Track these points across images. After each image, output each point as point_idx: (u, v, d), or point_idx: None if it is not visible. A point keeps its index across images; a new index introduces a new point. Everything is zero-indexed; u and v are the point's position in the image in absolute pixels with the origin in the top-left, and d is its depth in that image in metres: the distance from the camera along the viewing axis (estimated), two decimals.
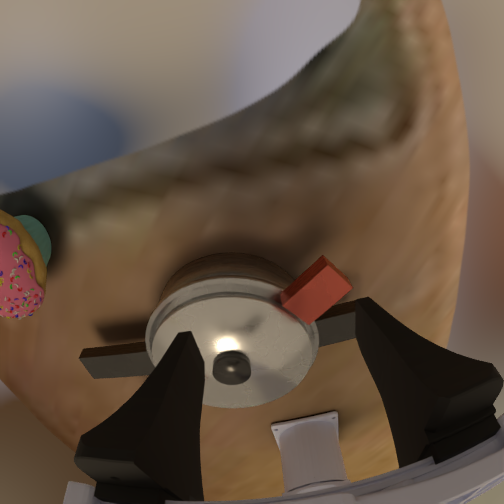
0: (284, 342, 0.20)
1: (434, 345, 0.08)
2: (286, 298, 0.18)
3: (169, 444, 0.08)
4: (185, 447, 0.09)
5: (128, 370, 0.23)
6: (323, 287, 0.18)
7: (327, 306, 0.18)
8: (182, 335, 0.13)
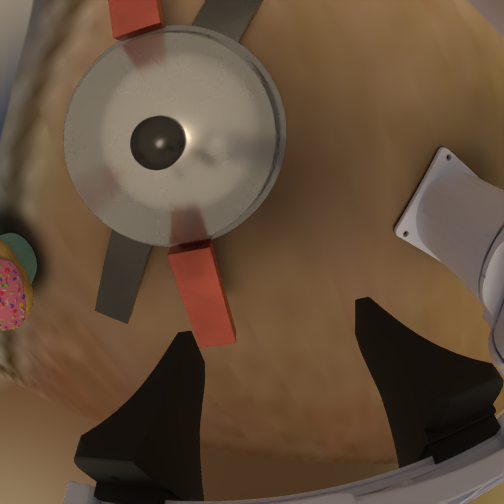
0: (170, 62, 0.12)
1: (434, 345, 0.08)
2: (114, 32, 0.11)
3: (169, 444, 0.08)
4: (185, 447, 0.09)
5: (129, 275, 0.19)
6: None
7: None
8: (182, 335, 0.13)
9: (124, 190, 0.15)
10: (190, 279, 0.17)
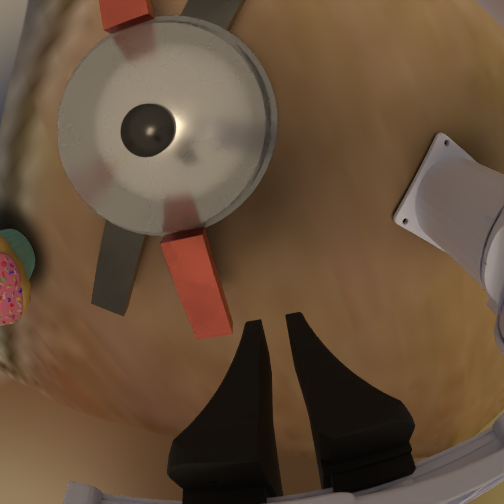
0: (159, 50, 0.12)
1: (346, 371, 0.08)
2: (105, 24, 0.11)
3: (266, 437, 0.08)
4: (271, 440, 0.09)
5: (124, 266, 0.19)
6: None
7: None
8: (254, 324, 0.12)
9: (116, 179, 0.15)
10: (183, 268, 0.17)
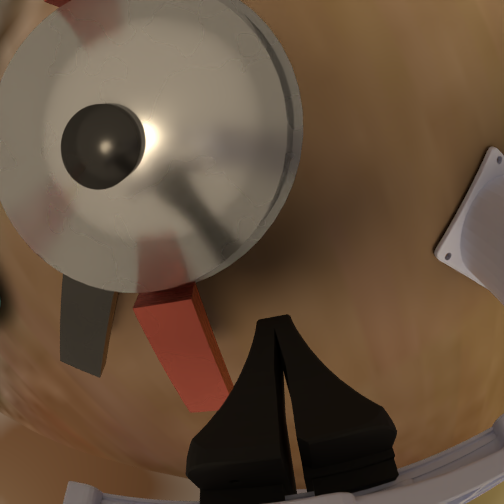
0: (120, 22, 0.07)
1: (330, 375, 0.08)
2: None
3: (283, 434, 0.08)
4: (286, 437, 0.09)
5: (93, 324, 0.13)
6: None
7: None
8: (266, 322, 0.12)
9: (65, 219, 0.10)
10: (167, 339, 0.12)
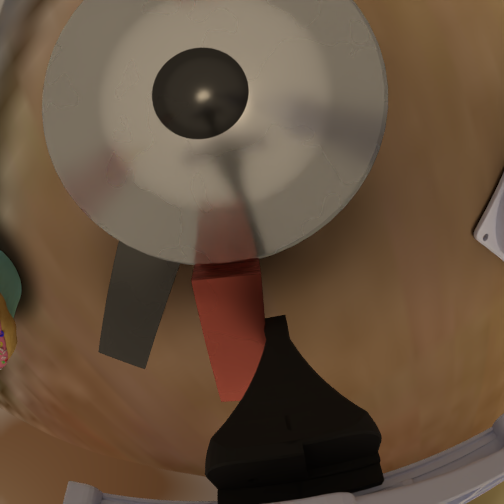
0: None
1: (316, 378, 0.09)
2: None
3: None
4: None
5: (146, 306, 0.13)
6: None
7: None
8: (279, 319, 0.12)
9: (129, 171, 0.09)
10: (222, 317, 0.11)
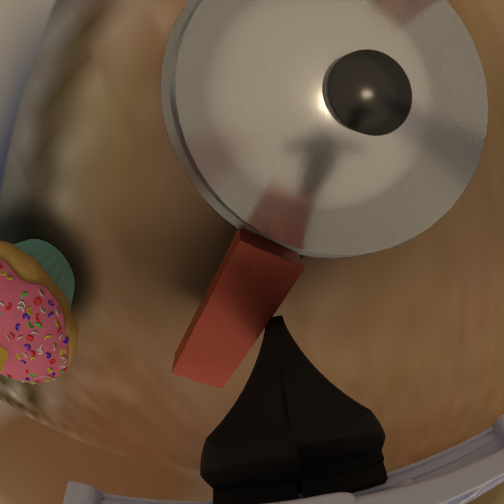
0: (436, 31, 0.07)
1: (320, 377, 0.09)
2: None
3: None
4: None
5: None
6: None
7: None
8: (275, 320, 0.12)
9: (256, 105, 0.08)
10: (241, 291, 0.11)
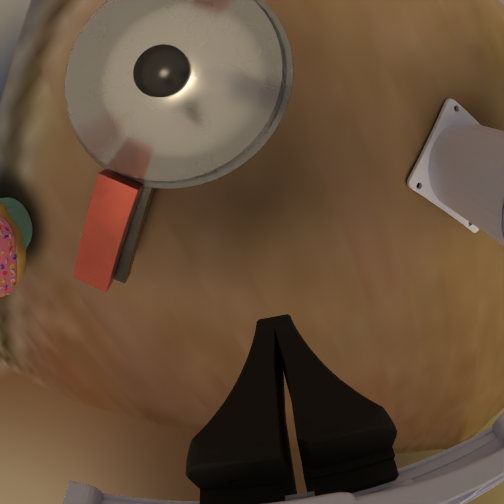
0: (224, 15, 0.12)
1: (330, 375, 0.08)
2: None
3: (283, 434, 0.08)
4: (286, 437, 0.09)
5: None
6: None
7: None
8: (266, 322, 0.12)
9: (103, 92, 0.13)
10: (103, 208, 0.15)
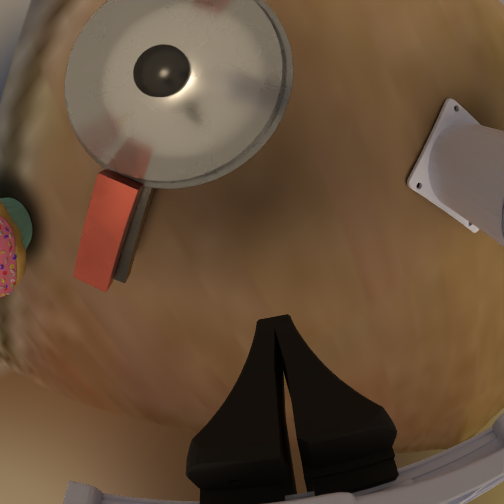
0: (224, 15, 0.12)
1: (330, 375, 0.08)
2: None
3: (283, 434, 0.08)
4: (286, 437, 0.09)
5: None
6: None
7: None
8: (266, 322, 0.12)
9: (103, 92, 0.13)
10: (103, 208, 0.15)
